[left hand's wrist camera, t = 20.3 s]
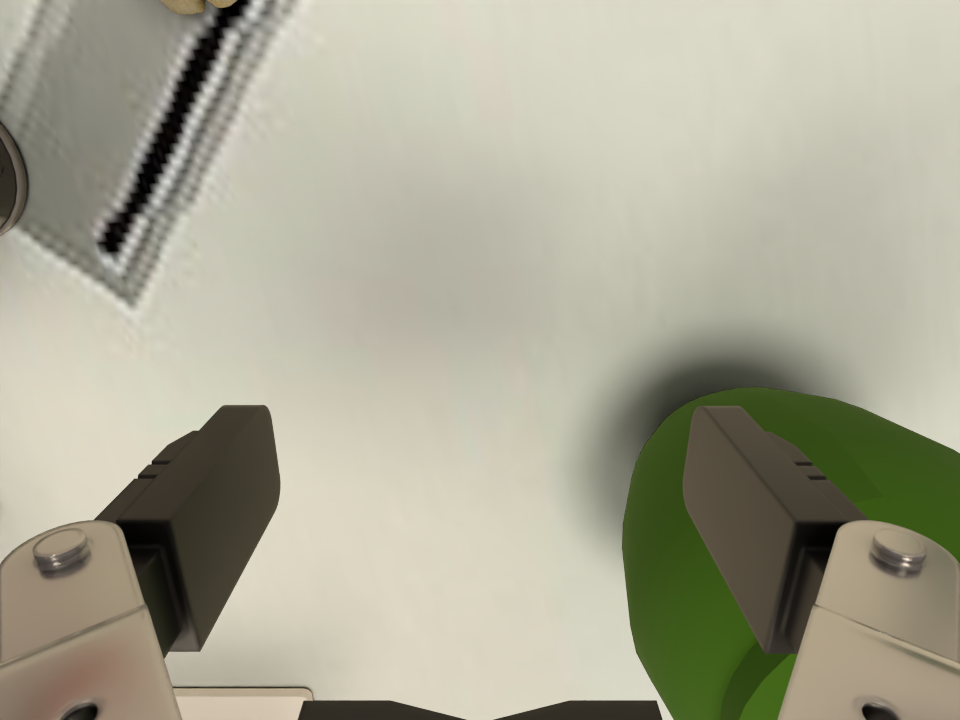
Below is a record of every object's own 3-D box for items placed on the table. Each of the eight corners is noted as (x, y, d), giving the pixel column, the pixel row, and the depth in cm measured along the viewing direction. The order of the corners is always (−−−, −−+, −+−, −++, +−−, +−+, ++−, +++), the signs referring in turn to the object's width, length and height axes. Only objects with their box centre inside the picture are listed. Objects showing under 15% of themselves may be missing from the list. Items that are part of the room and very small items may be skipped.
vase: (537, 501, 46) (591, 858, 24) (665, 279, 40) (911, 478, 17) (745, 582, 49) (972, 969, 27) (897, 388, 43) (1368, 681, 20)
